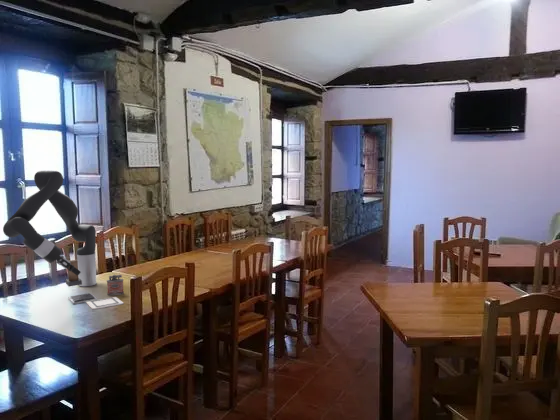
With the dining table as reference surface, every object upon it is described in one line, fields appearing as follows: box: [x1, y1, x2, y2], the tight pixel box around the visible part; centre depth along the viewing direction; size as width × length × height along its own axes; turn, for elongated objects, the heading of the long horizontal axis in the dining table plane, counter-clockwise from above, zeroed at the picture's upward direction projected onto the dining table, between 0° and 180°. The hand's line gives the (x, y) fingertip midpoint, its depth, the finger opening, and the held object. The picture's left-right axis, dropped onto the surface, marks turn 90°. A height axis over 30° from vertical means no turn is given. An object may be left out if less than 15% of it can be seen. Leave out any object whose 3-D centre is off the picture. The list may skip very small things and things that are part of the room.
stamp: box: [65, 259, 82, 287], centre depth 210 cm, size 6×6×11 cm
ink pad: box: [67, 293, 98, 305], centre depth 224 cm, size 11×11×1 cm
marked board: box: [85, 296, 124, 310], centre depth 218 cm, size 12×14×1 cm
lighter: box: [106, 274, 125, 296], centre depth 233 cm, size 8×3×10 cm, turn 106°
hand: (77, 272), depth 211 cm, fingers closed on stamp, 4 cm apart
